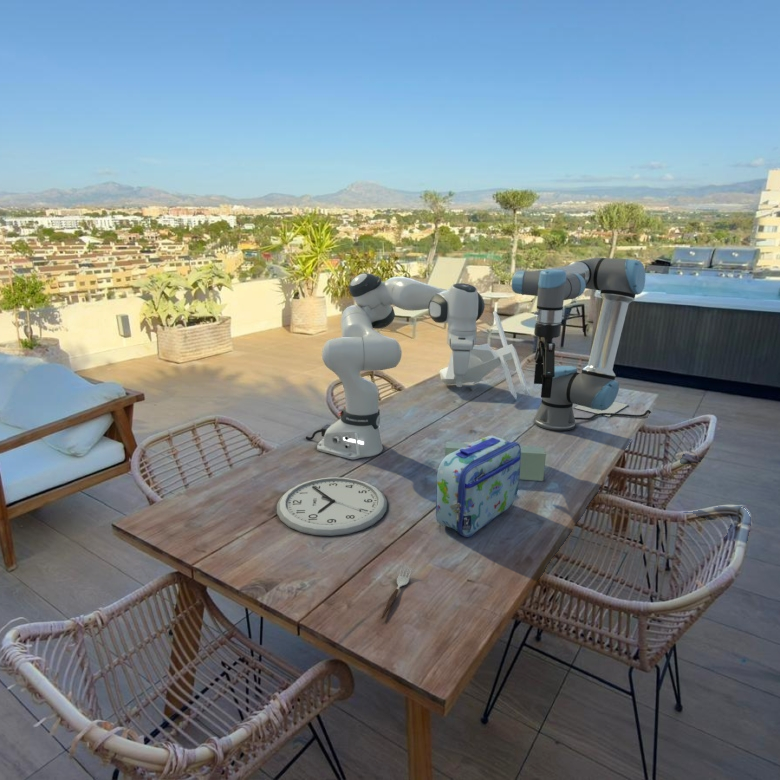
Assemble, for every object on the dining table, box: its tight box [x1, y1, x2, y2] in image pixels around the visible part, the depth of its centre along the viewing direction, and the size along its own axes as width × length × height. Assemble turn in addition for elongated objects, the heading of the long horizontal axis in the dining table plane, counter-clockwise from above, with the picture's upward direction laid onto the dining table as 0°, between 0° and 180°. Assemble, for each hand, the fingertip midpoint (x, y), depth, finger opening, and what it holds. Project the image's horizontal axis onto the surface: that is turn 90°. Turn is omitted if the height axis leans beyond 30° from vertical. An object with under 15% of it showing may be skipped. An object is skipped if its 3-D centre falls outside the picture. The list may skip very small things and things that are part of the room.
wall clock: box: [276, 476, 388, 537], centre depth 142 cm, size 30×2×30 cm
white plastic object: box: [438, 310, 531, 400], centre depth 245 cm, size 37×45×31 cm
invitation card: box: [573, 401, 629, 418], centre depth 226 cm, size 21×1×15 cm
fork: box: [381, 564, 413, 619], centre depth 108 cm, size 3×16×2 cm, turn 160°
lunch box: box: [435, 435, 521, 538], centre depth 134 cm, size 26×11×21 cm, turn 134°
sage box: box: [444, 440, 547, 482], centre depth 161 cm, size 30×5×9 cm, turn 83°
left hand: (458, 381), depth 163 cm, fingers open, 8 cm apart
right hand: (541, 390), depth 163 cm, fingers open, 13 cm apart
